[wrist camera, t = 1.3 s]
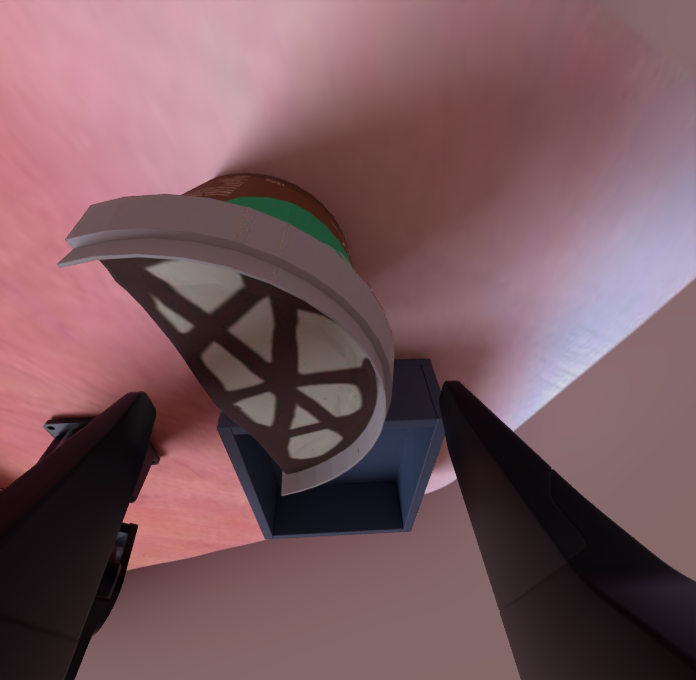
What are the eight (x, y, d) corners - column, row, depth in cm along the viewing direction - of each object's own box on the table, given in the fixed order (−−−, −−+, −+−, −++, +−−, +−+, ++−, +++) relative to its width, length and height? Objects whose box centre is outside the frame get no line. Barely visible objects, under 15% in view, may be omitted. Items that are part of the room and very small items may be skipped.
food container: (390, 324, 21) (428, 475, 13) (300, 347, 22) (286, 501, 14) (330, 92, 13) (338, 134, 5) (193, 142, 14) (31, 240, 6)
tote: (271, 485, 34) (265, 539, 30) (235, 364, 22) (216, 427, 19) (401, 478, 34) (411, 531, 31) (430, 358, 23) (451, 418, 19)
